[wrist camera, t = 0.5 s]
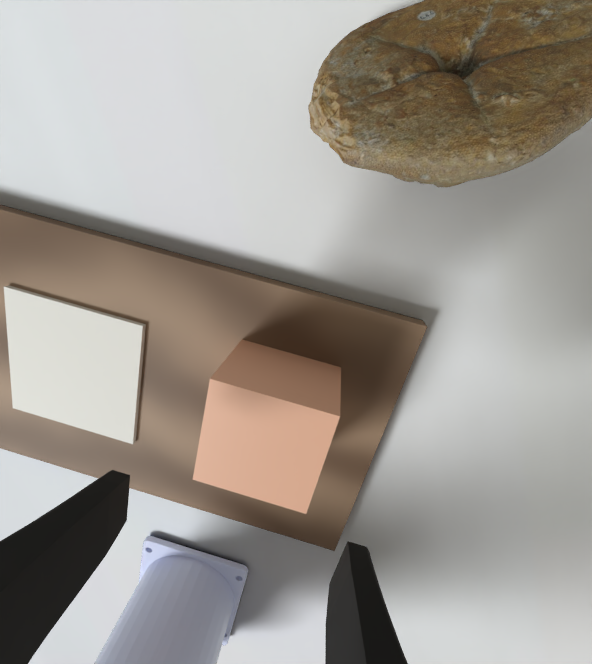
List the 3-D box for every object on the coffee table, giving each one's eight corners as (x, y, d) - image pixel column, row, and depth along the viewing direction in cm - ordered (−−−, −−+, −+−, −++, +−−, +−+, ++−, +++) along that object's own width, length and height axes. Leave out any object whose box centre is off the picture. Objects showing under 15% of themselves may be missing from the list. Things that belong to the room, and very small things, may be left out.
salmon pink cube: (314, 448, 19) (306, 513, 15) (225, 422, 20) (192, 479, 15) (341, 367, 17) (340, 416, 13) (241, 339, 18) (209, 378, 13)
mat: (135, 441, 21) (132, 444, 21) (17, 405, 21) (12, 408, 21) (145, 324, 18) (142, 326, 18) (8, 285, 18) (3, 286, 18)
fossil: (775, 8, 8) (386, 210, 8) (649, 164, 12) (388, 296, 12) (515, -79, 12) (267, 60, 13) (485, 57, 16) (296, 158, 16)
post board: (334, 537, 23) (332, 610, 19) (7, 436, 24) (-66, 484, 20) (422, 320, 17) (448, 355, 13) (-13, 201, 18) (-122, 197, 14)
